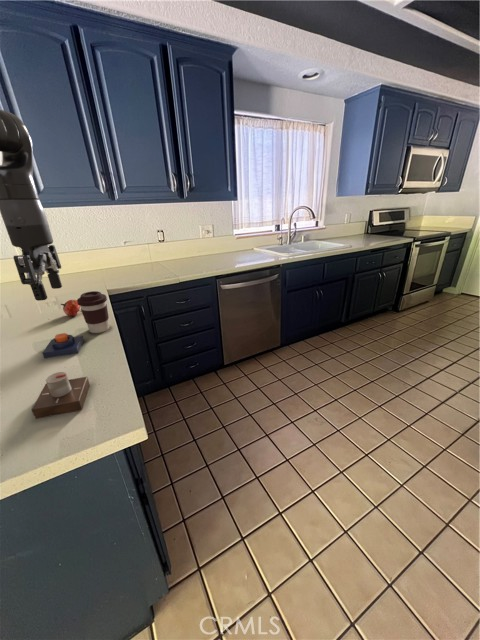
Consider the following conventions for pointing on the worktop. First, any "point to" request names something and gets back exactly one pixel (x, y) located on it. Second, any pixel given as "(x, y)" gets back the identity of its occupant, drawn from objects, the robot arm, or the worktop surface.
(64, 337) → the button
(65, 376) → the dial
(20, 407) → the worktop surface
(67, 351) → the button box
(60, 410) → the panel
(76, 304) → the pomegranate
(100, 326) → the coffee cup
